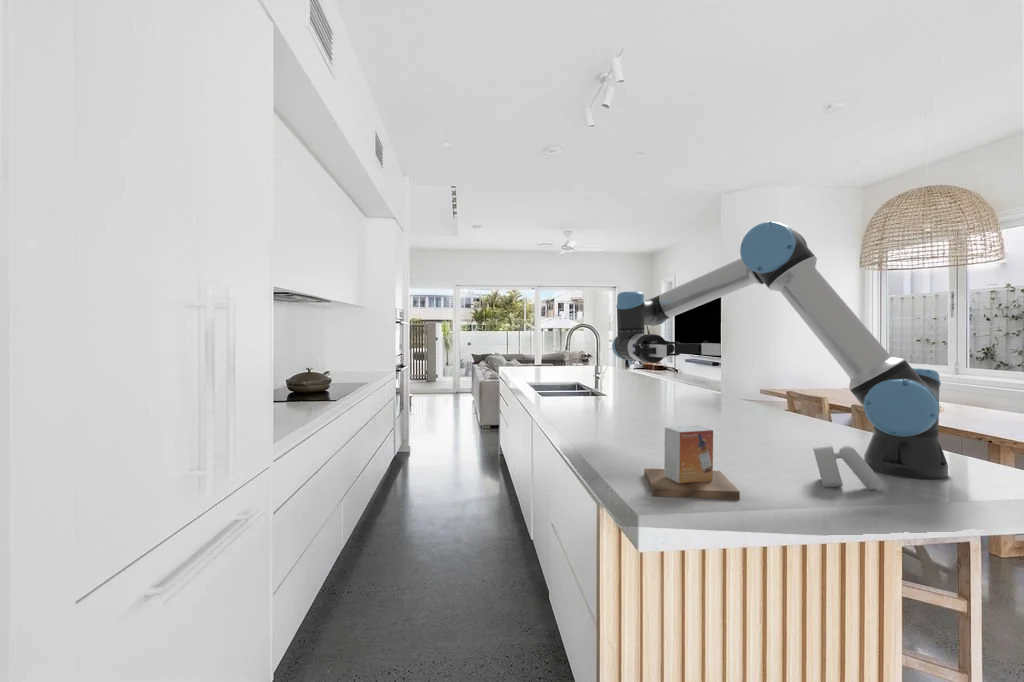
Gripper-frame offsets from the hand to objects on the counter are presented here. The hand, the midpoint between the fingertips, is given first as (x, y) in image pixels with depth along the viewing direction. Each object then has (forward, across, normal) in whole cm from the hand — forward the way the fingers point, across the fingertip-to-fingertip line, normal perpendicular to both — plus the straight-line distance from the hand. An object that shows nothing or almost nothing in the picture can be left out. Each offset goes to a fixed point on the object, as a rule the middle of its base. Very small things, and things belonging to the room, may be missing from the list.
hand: (692, 350), depth 115 cm
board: (+9, +7, -28) cm, 30 cm away
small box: (+9, +7, -26) cm, 28 cm away
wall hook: (+16, -24, -28) cm, 41 cm away
